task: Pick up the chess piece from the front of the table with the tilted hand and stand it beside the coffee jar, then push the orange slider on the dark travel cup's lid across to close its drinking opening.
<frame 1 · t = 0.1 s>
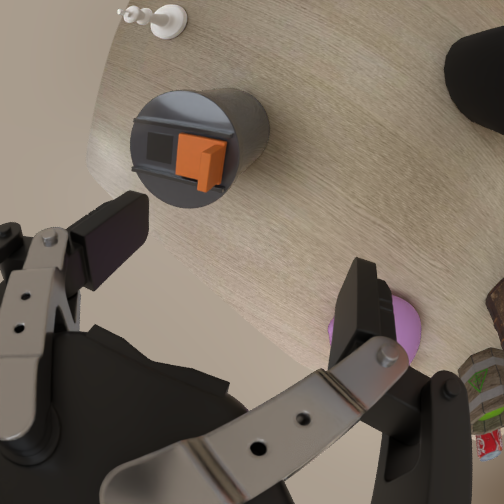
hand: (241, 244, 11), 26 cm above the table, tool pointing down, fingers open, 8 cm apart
soda can: (484, 413, 48), on the table
lid slider: (192, 162, 23), point 14 cm above the table, slide at 0.0 cm
coffee jar: (480, 80, 23), on the table
chess piece: (170, 22, 29), on the table
teapot: (378, 325, 43), on the table
mug: (492, 359, 40), on the table
travel cup: (228, 128, 35), on the table
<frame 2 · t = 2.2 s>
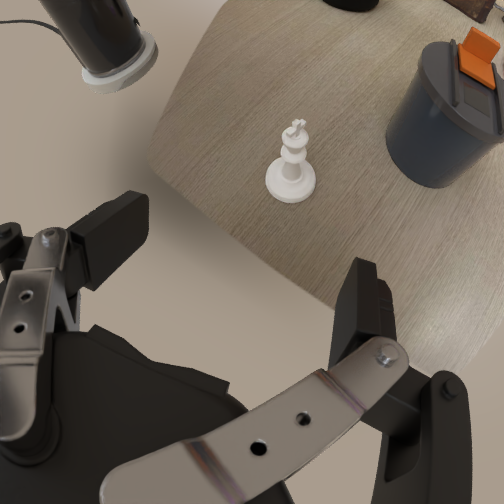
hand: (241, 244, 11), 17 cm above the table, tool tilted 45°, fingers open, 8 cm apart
lid slider: (482, 56, 16), point 14 cm above the table, slide at 0.0 cm
book: (450, 2, 36), on the table
chess piece: (290, 180, 30), on the table
travel cup: (425, 148, 29), on the table
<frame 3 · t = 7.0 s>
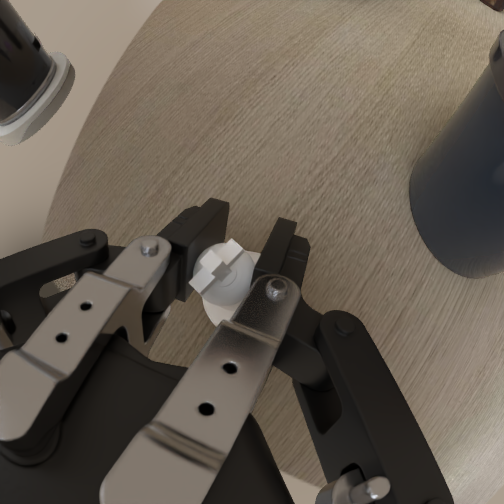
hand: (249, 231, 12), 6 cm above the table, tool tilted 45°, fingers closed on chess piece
chess piece: (246, 295, 18), on the table, touching gripper
travel cup: (468, 207, 18), on the table
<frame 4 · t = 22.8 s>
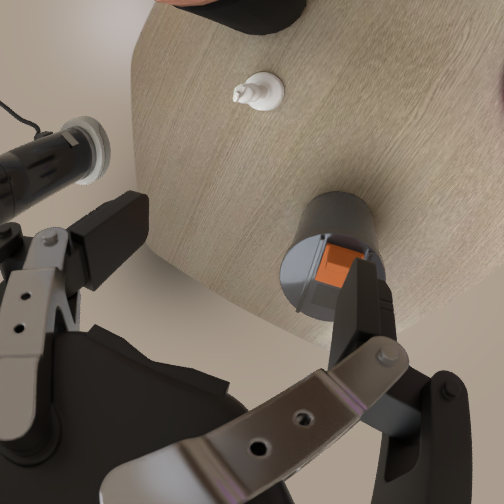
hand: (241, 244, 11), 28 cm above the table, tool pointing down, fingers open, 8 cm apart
lid slider: (338, 275, 27), point 14 cm above the table, slide at 0.0 cm
chess piece: (264, 91, 33), on the table
travel cup: (338, 227, 39), on the table
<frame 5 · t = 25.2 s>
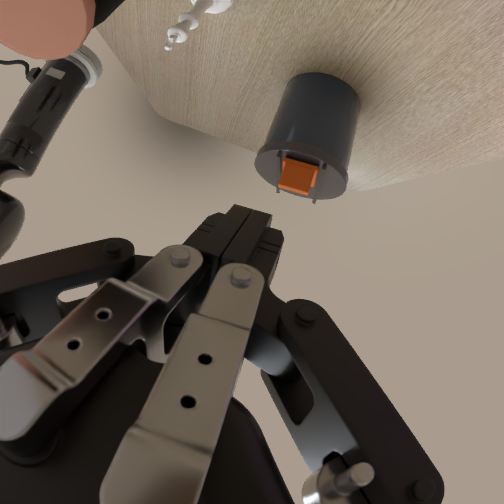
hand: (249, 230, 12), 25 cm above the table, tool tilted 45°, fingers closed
lid slider: (296, 183, 31), point 14 cm above the table, slide at 0.0 cm
travel cup: (322, 99, 36), on the table
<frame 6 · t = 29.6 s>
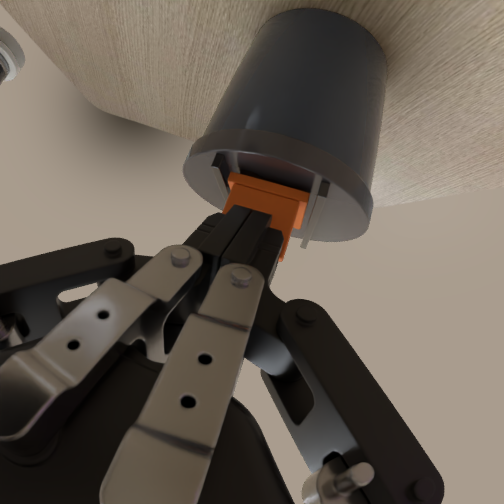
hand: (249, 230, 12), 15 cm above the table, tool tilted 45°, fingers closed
lid slider: (260, 227, 15), point 14 cm above the table, slide at 0.4 cm, touching gripper
travel cup: (320, 61, 19), on the table
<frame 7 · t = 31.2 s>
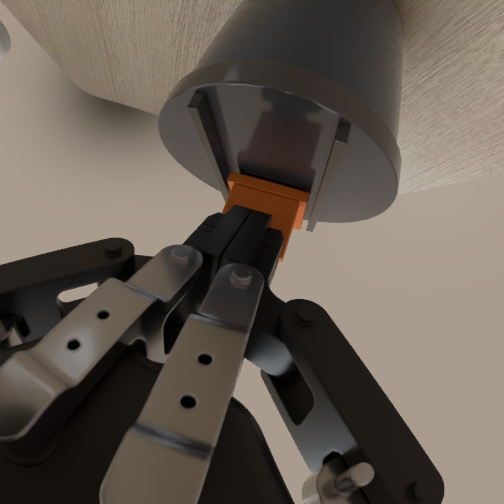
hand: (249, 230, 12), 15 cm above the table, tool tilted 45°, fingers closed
lid slider: (260, 227, 15), point 14 cm above the table, slide at 4.5 cm, touching gripper
travel cup: (325, 20, 15), on the table
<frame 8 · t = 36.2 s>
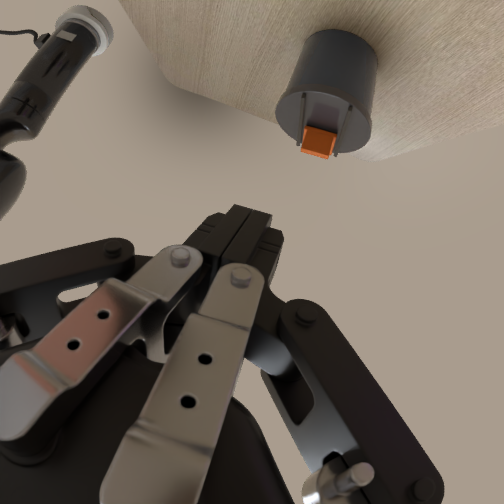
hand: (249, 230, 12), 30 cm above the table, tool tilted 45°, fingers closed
lid slider: (316, 150, 33), point 14 cm above the table, slide at 4.5 cm
travel cup: (340, 58, 33), on the table
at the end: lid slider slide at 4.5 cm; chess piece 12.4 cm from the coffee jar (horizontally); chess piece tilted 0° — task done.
